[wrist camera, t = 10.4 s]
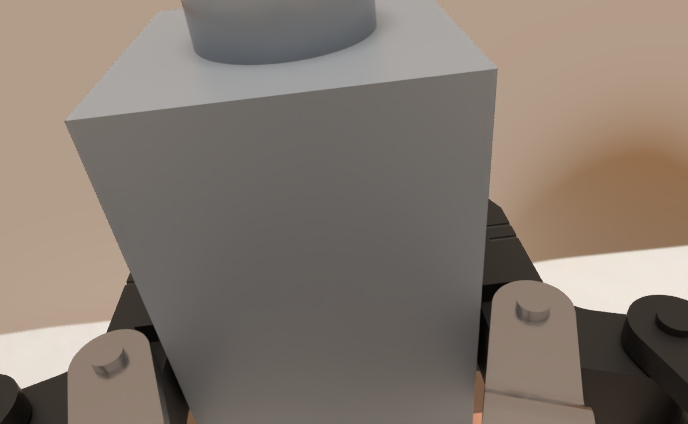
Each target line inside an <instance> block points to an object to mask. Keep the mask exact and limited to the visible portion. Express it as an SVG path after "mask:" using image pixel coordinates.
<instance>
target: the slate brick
mask: <svg viewBox="0 0 688 424" xmlns="http://www.w3.org/2000/svg"><path fill="white" fill-rule="evenodd" d="M181 2H182V6H183V8H182V9H174V10H166V11H159V12H158V13H157V14H156V15H155V16H154V18H153V19H152V20H151V21H150V22H149V24H148V25H147V26H146V27H145V28H144V29H143V30H142V32H141V33H140V34H139V35H138V36H137V37H136V38H135V40H134V41H133V42H132V43H131V44H130V45H129V47H128V48H127V49H126V50H125V51H124V52H123V54H122V55H121V56H120V57H119V58H118V59H117V60H116V62H115V63H114V64H113V65H112V67H111V68H110V69H109V70H108V71H107V72H106V73H105V74H104V76H103V77H102V78H101V79H100V80H99V81H98V83H97V84H96V85H95V86H94V87H93V88H92V90H91V91H90V92H89V93H88V94H87V95H86V96H85V98H84V99H83V100H82V101H81V102H80V104H79V105H78V106H77V107H76V108H75V109H74V110H73V112H72V113H71V114H70V115H69V116H68V117H67V118H66V120H65V124H66V126H67V128H68V131H69V133H70V135H71V137H72V139H73V142H74V144H75V147H76V149H77V151H78V153H79V156H80V158H81V160H82V163H83V165H84V167H85V170H86V172H87V174H88V176H89V179H90V181H91V183H92V186H93V188H94V190H95V192H96V195H97V197H98V199H99V202H100V204H101V206H102V208H103V211H104V213H105V215H106V217H107V220H108V222H109V225H110V226H111V229H112V231H113V233H114V236H115V238H116V241H117V243H118V245H119V247H120V250H121V252H122V254H123V256H124V259H125V261H126V263H127V266H128V268H129V270H130V273H131V275H132V277H133V279H134V282H135V284H136V286H137V289H138V291H139V293H140V296H141V298H142V300H143V302H144V305H145V307H146V309H147V312H148V314H149V316H150V318H151V321H152V323H153V325H154V328H155V330H156V332H157V334H158V337H159V339H160V341H161V344H162V346H163V348H164V350H165V353H166V355H167V357H168V360H169V362H170V364H171V367H172V369H173V371H174V373H175V376H176V378H177V380H178V383H179V385H180V387H181V389H182V392H183V394H184V396H185V399H186V401H187V403H188V405H189V408H190V410H191V412H192V415H193V417H194V419H195V421H196V424H472V423H473V409H474V395H475V381H476V367H477V352H478V338H479V324H480V310H481V296H482V282H483V268H484V254H485V239H486V225H487V211H488V197H489V183H490V169H491V154H492V140H493V126H494V111H495V97H496V83H497V69H498V68H497V67H496V66H495V65H494V64H493V63H492V62H491V61H490V60H489V59H488V58H487V56H486V55H484V53H483V52H482V51H481V50H480V49H479V48H478V47H477V46H476V45H475V43H474V42H473V41H472V40H471V39H470V38H469V37H468V36H467V35H466V34H465V33H464V31H463V30H462V29H461V28H460V27H459V26H458V25H457V24H456V23H455V22H454V21H453V19H452V18H451V17H450V16H449V15H448V14H447V13H446V12H445V11H444V10H443V9H442V7H441V6H440V5H439V4H438V3H437V2H436V1H435V0H181Z"/></svg>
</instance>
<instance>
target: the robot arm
mask: <svg viewBox="0 0 688 424" xmlns="http://www.w3.org/2000/svg"><path fill="white" fill-rule="evenodd" d="M476 371H480V372H481V375H482V378H483V381H484V383H485V388H484V399H483V411H482V424H688V301H687V300H684V299H681V298H678V297H673V296H667V295H649V296H645V297H642V298H639V299H637V300H636V301H634V302H633V303H632V304H631V305H630V307H629V309H628V312H627V315H626V314H617V313H609V312H601V311H593V310H587V309H583V308H579V307H576V306H574V305H573V303H572V302H571V300H570V299H569V298H568V297H567V296H566V295H565V294H564V293H563V292H562V291H560V290H559V289H557V288H555V287H553V286H551V285H549V284H546V283H543V281H542V279H541V278H540V276H539V274H538V272H537V271H536V269H535V267H534V265H533V264H532V262H531V260H530V258H529V257H528V255H527V253H526V251H525V249H524V248H523V246H522V244H521V242H520V241H519V239H518V238H517V237H516V233H515V232H514V230H513V228H512V227H511V226H510V224H509V221H508V219H507V217H506V216H505V214H504V212H503V210H502V209H501V207H499V206H498V205H496V204H495V203H494V202H492V201H491V200H490V199H488V211H487V225H486V239H485V254H484V268H483V282H482V296H481V310H480V324H479V338H478V352H477V367H476ZM189 409H190V408H189V405H188V403H187V401H186V399H185V396H184V394H183V392H182V389H181V387H180V385H179V383H178V380H177V378H176V376H175V373H174V371H173V369H172V367H171V364H170V362H169V360H168V357H167V355H166V353H165V350H164V348H163V346H162V344H161V341H160V339H159V337H158V334H157V332H156V330H155V328H154V325H153V323H152V321H151V318H150V316H149V314H148V312H147V309H146V307H145V305H144V302H143V300H142V298H141V296H140V293H139V291H138V289H137V286H136V284H135V282H134V279H133V277H132V275H131V273H130V274H129V277H128V279H127V285H125V287H124V289H123V292H122V294H121V297H120V300H119V302H118V305H117V307H116V310H115V312H114V315H113V317H112V320H111V322H110V325H109V327H108V330H107V333H105V334H103V335H100V336H98V337H97V338H95V339H93V340H92V341H90V342H89V343H87V344H86V345H85V346H84V347H82V348H81V349H80V351H79V352H78V353H77V354H76V355H75V356H74V358H73V359H72V361H71V363H70V366H69V369H68V372H65V373H63V374H61V375H58V376H56V377H53V378H50V379H48V380H45V381H42V382H40V383H37V384H34V385H31V386H29V387H26V388H23V389H20V387H19V386H18V384H17V383H16V382H15V380H14V379H12V378H11V377H9V376H7V375H2V374H0V424H187V419H188V414H189Z"/></svg>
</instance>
